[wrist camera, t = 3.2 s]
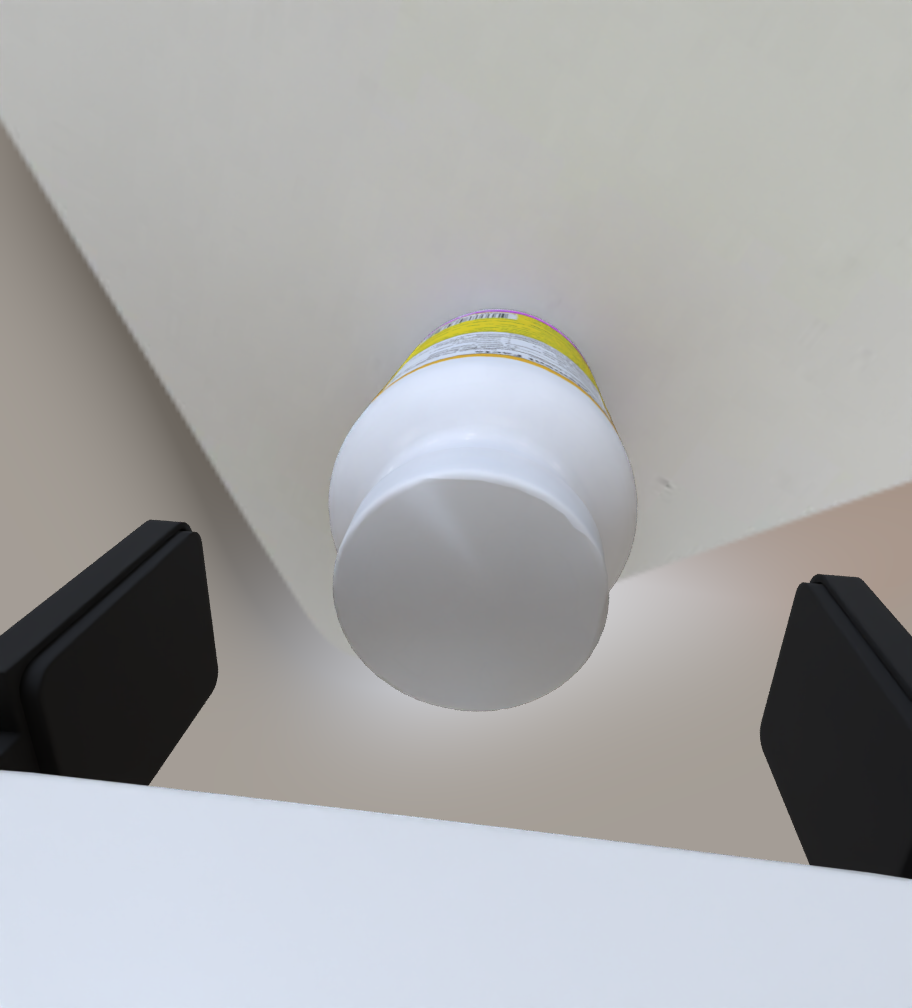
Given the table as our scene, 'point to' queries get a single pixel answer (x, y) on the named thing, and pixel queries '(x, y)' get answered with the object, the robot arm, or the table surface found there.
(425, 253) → the table surface
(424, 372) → the supplement bottle
